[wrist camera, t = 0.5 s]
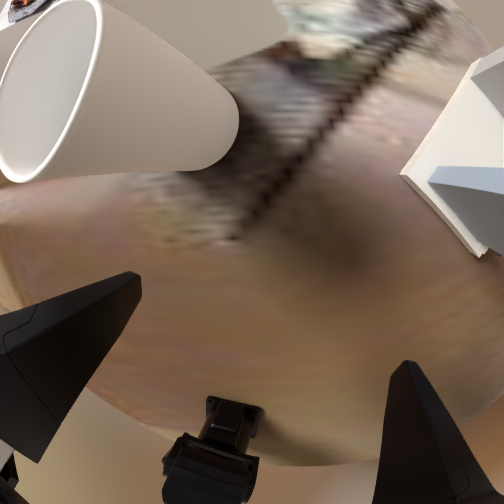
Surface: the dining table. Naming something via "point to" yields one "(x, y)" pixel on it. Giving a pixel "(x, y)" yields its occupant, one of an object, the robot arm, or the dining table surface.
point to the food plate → (22, 8)
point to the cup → (106, 100)
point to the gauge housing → (463, 139)
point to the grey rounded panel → (475, 200)
